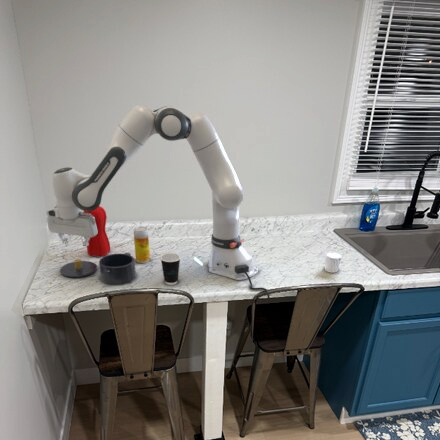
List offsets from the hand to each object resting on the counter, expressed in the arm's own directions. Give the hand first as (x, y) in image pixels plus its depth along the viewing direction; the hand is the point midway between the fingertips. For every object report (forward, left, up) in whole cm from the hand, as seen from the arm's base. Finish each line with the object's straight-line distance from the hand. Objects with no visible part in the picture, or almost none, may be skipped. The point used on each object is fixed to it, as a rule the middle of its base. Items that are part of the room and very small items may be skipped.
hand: (75, 244), depth 163 cm
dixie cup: (-35, -20, -12) cm, 42 cm away
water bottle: (+10, -17, -12) cm, 23 cm away
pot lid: (0, 0, -11) cm, 11 cm away
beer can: (-11, -25, -12) cm, 30 cm away
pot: (-16, -8, -12) cm, 22 cm away
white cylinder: (-76, -77, -12) cm, 109 cm away
